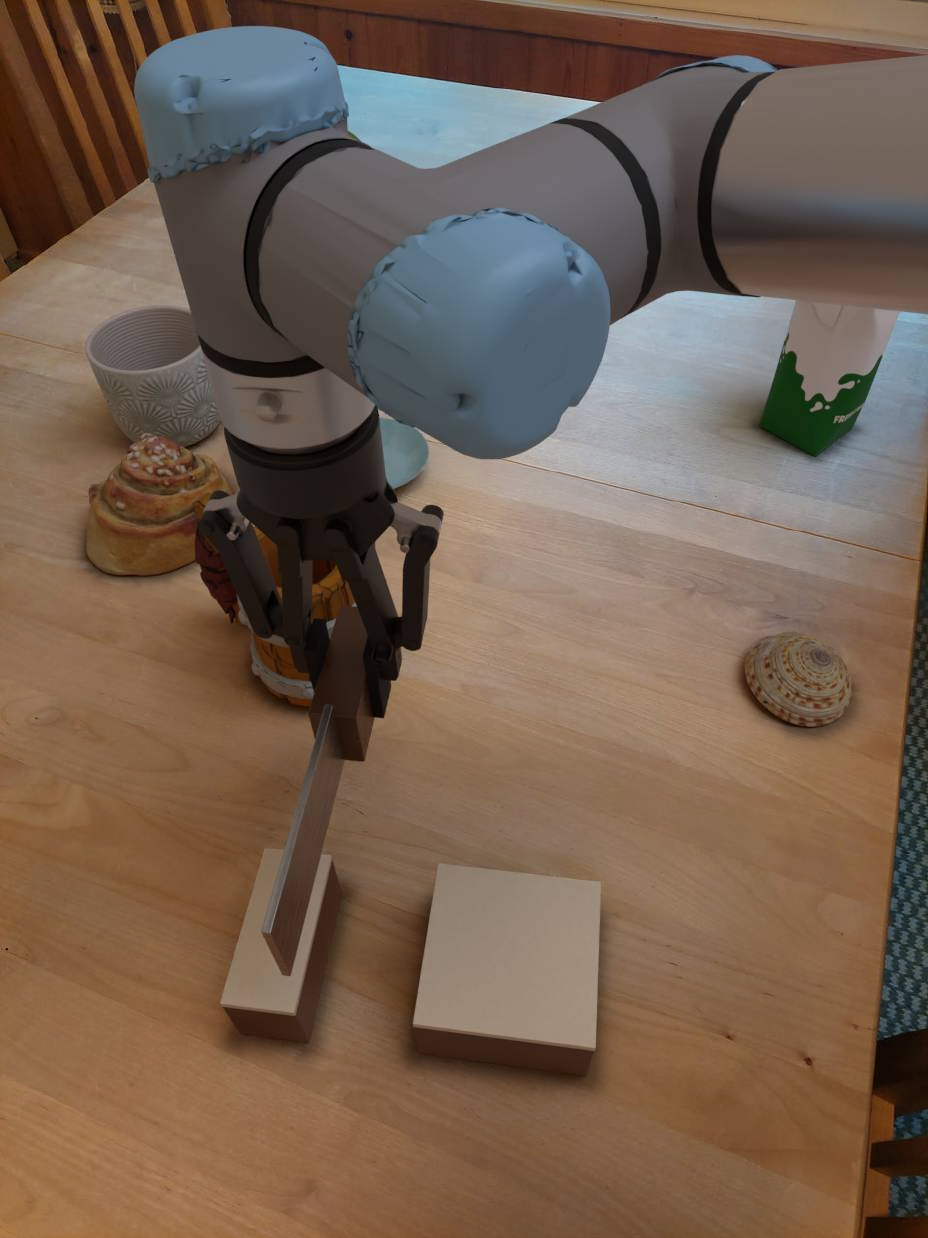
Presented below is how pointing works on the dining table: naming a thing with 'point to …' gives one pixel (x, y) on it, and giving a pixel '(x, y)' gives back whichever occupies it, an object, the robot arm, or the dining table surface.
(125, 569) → the pastry
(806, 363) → the milk carton
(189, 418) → the planter
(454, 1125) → the dining table surface
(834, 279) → the robot arm
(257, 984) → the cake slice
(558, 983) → the beige square block
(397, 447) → the saucer
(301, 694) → the mug
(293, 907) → the knife
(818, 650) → the seashell
